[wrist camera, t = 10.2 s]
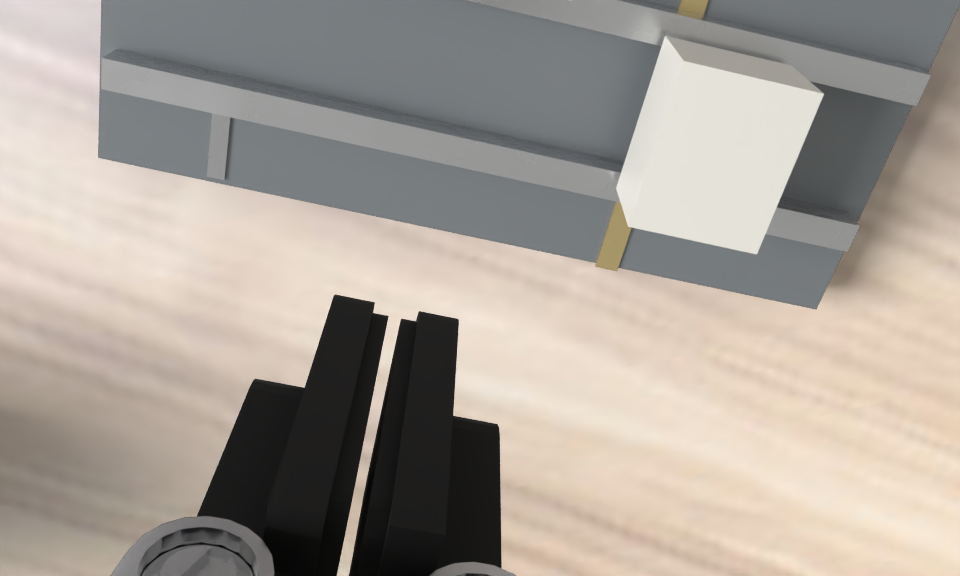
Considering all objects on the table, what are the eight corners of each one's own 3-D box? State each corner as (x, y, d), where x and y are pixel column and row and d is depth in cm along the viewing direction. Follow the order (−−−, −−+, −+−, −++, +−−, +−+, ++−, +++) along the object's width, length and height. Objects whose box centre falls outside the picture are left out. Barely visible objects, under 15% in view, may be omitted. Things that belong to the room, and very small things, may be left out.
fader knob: (658, 26, 28) (683, 61, 24) (779, 54, 28) (824, 93, 24) (611, 173, 30) (627, 226, 26) (724, 198, 30) (756, 254, 27)
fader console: (132, -243, 26) (89, -249, 24) (945, -38, 29) (994, -21, 26) (120, 140, 32) (83, 173, 29) (798, 285, 34) (825, 328, 32)
